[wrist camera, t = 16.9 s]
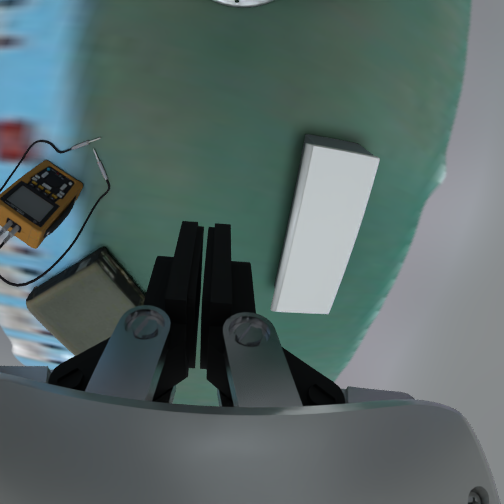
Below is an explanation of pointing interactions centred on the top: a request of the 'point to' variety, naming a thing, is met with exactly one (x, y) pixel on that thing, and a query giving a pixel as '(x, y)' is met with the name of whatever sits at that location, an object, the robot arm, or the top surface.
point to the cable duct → (329, 143)
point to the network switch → (85, 301)
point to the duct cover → (322, 227)
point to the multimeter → (40, 203)
